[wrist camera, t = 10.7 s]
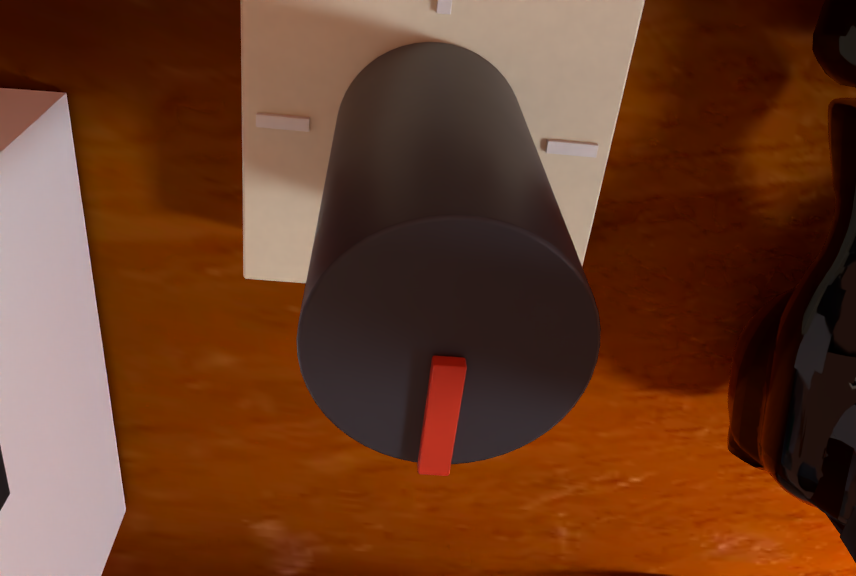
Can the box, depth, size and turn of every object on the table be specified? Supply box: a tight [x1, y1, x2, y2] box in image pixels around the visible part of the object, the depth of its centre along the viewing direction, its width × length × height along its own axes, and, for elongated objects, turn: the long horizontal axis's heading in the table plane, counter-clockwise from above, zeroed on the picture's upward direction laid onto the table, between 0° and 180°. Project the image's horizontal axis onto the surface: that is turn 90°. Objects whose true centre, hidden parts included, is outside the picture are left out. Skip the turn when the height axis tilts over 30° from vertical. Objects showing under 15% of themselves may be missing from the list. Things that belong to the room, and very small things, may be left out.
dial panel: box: [241, 0, 645, 283], centre depth 23 cm, size 10×10×3 cm
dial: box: [297, 42, 601, 476], centre depth 18 cm, size 5×5×10 cm
